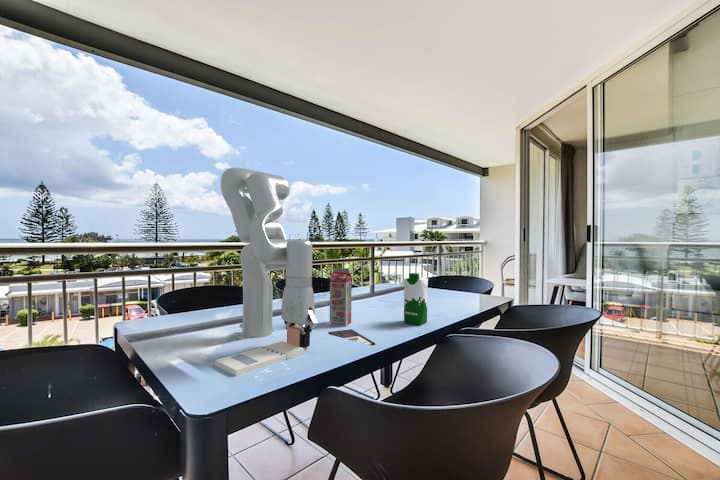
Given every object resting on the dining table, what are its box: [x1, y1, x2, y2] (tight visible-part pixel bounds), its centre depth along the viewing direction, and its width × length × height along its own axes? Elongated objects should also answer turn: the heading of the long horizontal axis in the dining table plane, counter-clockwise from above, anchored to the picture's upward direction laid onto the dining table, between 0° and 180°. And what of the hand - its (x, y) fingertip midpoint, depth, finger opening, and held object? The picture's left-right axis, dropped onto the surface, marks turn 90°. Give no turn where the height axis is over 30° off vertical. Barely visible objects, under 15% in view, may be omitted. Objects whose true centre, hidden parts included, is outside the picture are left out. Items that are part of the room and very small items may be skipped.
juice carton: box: [328, 267, 353, 328], centre depth 130 cm, size 7×7×22 cm
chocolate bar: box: [327, 328, 376, 346], centre depth 111 cm, size 9×1×18 cm
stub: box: [264, 324, 308, 360], centre depth 93 cm, size 10×9×6 cm
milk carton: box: [403, 272, 429, 327], centre depth 134 cm, size 9×9×20 cm
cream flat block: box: [214, 346, 287, 377], centre depth 84 cm, size 10×14×2 cm
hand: (298, 344), depth 96 cm, fingers closed on stub, 5 cm apart
